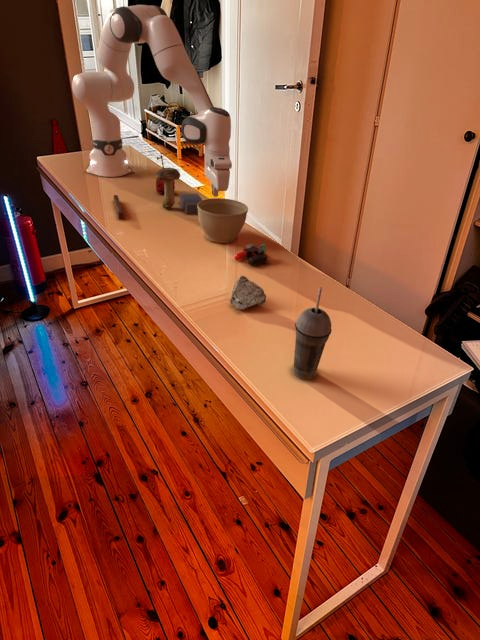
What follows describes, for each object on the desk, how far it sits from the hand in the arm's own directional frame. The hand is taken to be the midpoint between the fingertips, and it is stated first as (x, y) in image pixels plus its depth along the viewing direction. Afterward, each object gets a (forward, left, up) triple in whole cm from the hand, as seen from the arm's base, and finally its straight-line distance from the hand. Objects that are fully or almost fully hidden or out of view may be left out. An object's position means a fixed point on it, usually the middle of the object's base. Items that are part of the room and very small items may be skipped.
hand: (214, 195), depth 178 cm
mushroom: (0, -17, -5) cm, 18 cm away
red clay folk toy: (-18, -15, -5) cm, 24 cm away
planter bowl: (+28, -5, -5) cm, 29 cm away
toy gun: (+44, -1, -5) cm, 44 cm away
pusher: (0, -8, -5) cm, 10 cm away
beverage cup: (+99, -7, -5) cm, 99 cm away
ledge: (0, -35, -5) cm, 36 cm away
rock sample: (+70, -10, -5) cm, 71 cm away
